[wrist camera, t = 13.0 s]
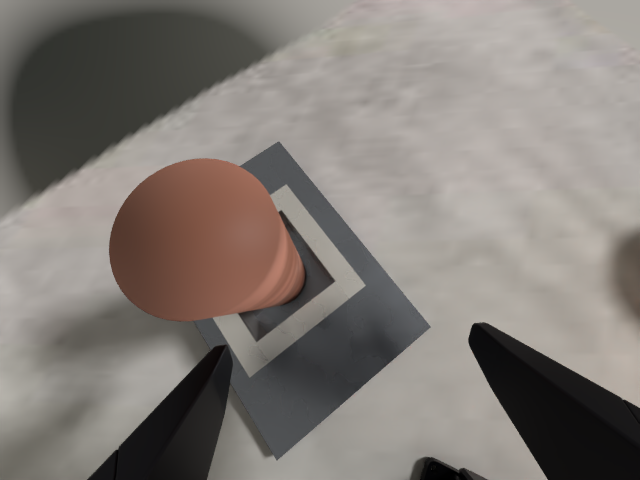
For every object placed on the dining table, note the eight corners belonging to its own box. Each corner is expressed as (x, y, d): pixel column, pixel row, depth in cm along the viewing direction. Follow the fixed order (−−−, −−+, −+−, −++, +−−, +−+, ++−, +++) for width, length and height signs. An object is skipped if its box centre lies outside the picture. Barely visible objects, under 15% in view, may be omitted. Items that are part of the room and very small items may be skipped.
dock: (426, 325, 19) (453, 332, 15) (278, 453, 17) (266, 499, 13) (280, 146, 23) (272, 115, 19) (146, 233, 21) (106, 217, 17)
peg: (308, 302, 18) (282, 312, 6) (250, 308, 18) (98, 329, 6) (304, 247, 20) (274, 153, 7) (249, 251, 19) (119, 164, 7)
